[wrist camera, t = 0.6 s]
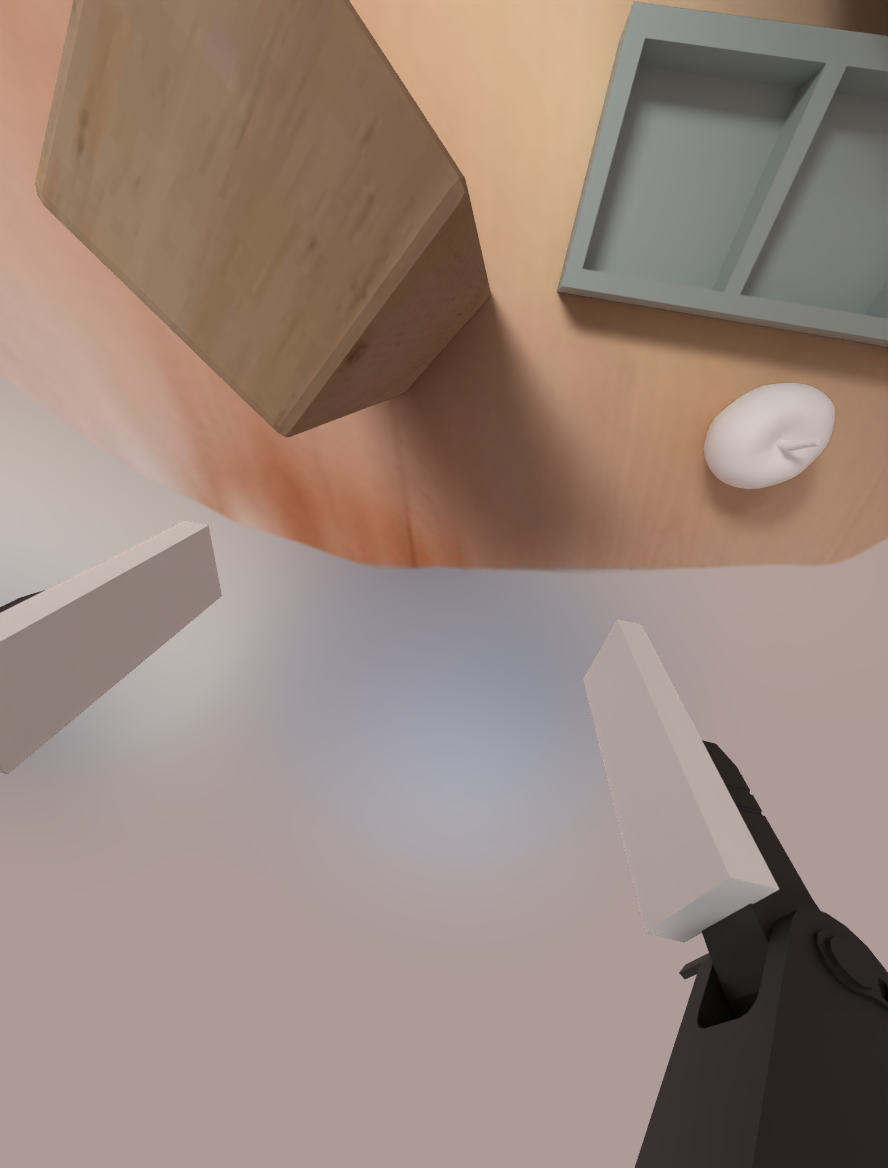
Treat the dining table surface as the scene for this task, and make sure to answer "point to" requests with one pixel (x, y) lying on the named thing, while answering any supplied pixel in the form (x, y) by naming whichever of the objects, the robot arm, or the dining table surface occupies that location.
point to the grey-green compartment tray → (740, 175)
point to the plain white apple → (769, 435)
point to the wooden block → (264, 195)
